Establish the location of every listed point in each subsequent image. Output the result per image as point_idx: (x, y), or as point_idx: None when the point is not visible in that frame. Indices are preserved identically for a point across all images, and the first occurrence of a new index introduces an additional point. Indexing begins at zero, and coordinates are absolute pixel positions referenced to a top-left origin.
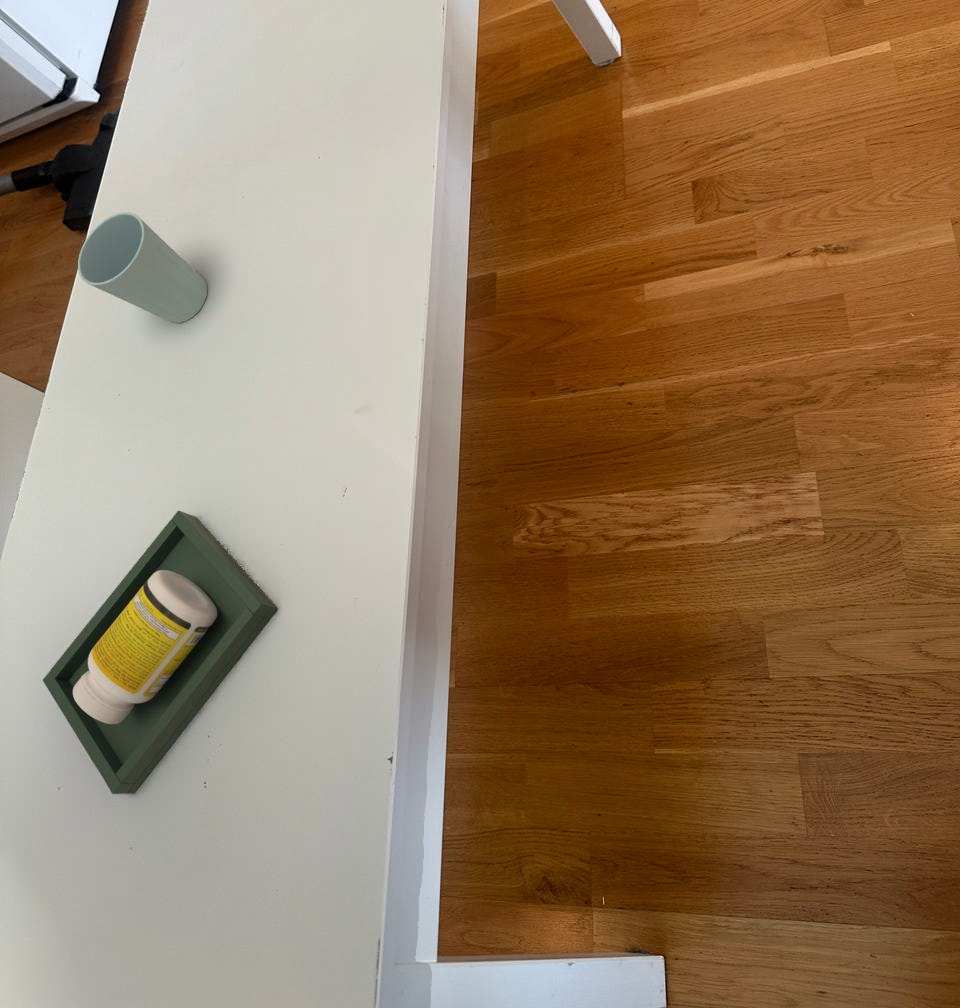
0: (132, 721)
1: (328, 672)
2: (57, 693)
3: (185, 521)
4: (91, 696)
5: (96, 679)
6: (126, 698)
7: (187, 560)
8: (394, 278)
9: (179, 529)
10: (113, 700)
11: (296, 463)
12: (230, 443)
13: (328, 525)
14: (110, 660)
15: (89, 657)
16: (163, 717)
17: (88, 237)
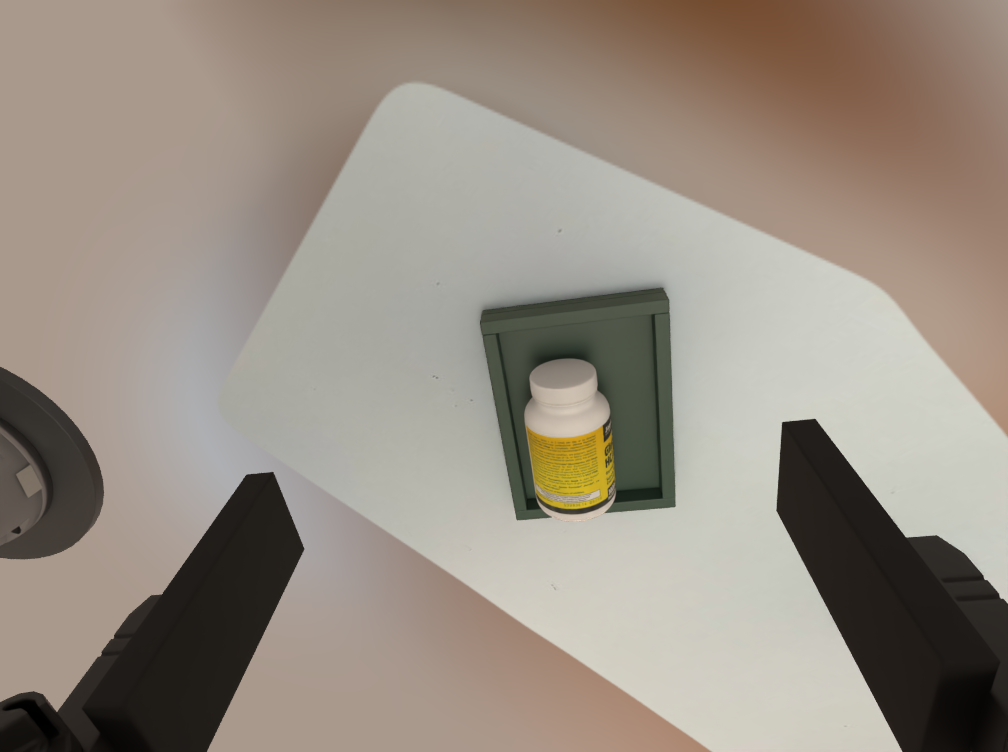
0: (541, 352)
1: (436, 505)
2: (635, 310)
3: (657, 506)
4: (553, 403)
5: (558, 425)
6: (528, 418)
7: (632, 472)
8: (670, 697)
9: (661, 492)
10: (539, 404)
11: (616, 574)
12: (698, 546)
13: (542, 565)
14: (560, 450)
15: (588, 427)
16: (503, 402)
17: None
